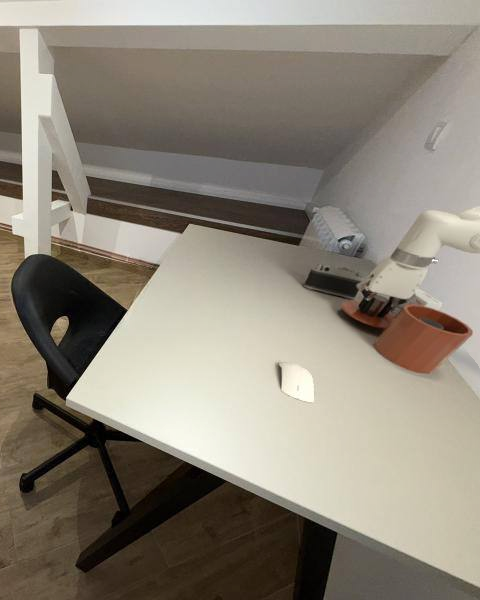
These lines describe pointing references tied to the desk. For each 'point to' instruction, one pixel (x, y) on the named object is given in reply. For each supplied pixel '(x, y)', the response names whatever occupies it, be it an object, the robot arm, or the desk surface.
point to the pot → (421, 339)
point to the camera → (334, 280)
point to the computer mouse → (297, 382)
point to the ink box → (419, 302)
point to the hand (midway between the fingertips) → (370, 312)
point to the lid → (370, 312)
